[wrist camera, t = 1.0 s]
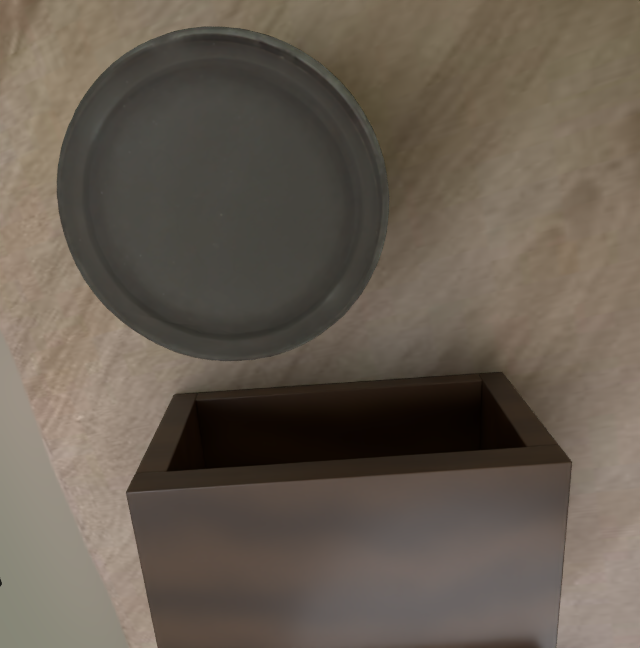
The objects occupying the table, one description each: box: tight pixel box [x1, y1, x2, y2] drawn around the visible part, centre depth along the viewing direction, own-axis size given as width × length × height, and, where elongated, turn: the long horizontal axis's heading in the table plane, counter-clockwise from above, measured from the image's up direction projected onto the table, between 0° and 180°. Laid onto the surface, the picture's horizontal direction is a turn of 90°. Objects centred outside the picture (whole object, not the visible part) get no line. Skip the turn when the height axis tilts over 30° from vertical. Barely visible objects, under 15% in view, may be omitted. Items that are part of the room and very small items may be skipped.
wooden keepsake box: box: [126, 372, 572, 648], centre depth 32 cm, size 14×20×12 cm
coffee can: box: [57, 27, 389, 361], centre depth 25 cm, size 10×10×14 cm
